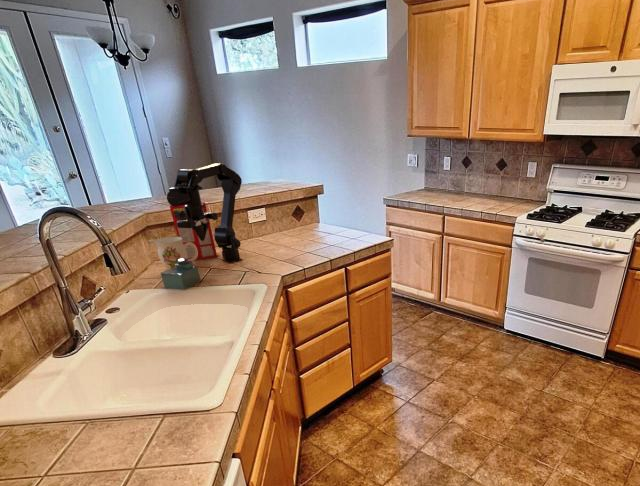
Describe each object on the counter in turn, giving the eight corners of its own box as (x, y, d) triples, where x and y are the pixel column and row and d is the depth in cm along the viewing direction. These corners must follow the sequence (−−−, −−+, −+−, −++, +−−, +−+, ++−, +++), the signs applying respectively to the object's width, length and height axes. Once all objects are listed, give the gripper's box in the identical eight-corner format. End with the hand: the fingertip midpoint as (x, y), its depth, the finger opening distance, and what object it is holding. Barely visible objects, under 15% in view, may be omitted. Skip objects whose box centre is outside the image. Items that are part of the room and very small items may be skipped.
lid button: (183, 262, 172) (182, 258, 171) (190, 262, 171) (189, 258, 171) (177, 265, 169) (175, 260, 168) (184, 265, 168) (183, 261, 168)
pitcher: (201, 269, 188) (193, 238, 181) (155, 275, 182) (146, 243, 175) (201, 263, 197) (194, 233, 190) (158, 268, 191) (149, 237, 184)
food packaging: (216, 254, 210) (204, 201, 198) (217, 256, 206) (205, 202, 194) (183, 258, 204) (169, 204, 193) (183, 261, 200) (169, 206, 189)
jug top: (184, 278, 178) (179, 259, 174) (203, 280, 176) (198, 261, 172) (164, 288, 168) (159, 268, 164) (184, 289, 166) (179, 270, 162)
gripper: (192, 198, 184) (200, 234, 191) (160, 206, 168) (171, 245, 175) (214, 198, 181) (222, 235, 188) (184, 206, 165) (194, 246, 172)
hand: (202, 240), depth 181 cm, fingers closed
